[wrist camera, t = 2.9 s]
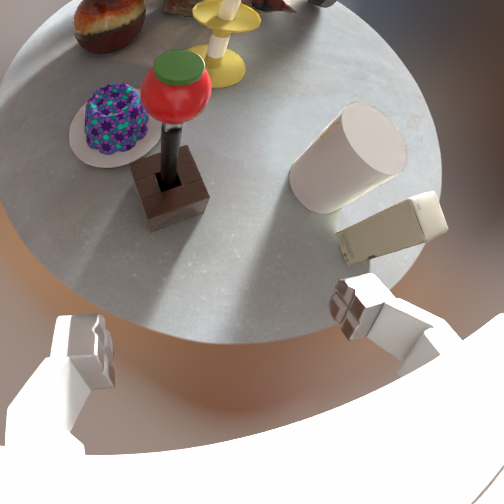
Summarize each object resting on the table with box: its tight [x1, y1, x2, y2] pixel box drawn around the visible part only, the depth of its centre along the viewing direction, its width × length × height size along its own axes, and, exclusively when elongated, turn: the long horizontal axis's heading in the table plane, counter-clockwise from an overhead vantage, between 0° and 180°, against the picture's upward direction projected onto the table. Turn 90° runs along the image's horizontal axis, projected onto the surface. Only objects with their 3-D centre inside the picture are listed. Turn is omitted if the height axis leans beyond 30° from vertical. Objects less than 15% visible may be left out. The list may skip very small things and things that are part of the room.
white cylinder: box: [289, 102, 407, 214], centre depth 29 cm, size 8×8×12 cm
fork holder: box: [129, 145, 210, 233], centre depth 27 cm, size 6×6×4 cm
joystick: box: [140, 50, 212, 192], centre depth 20 cm, size 4×4×19 cm
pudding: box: [69, 83, 162, 168], centre depth 26 cm, size 12×12×5 cm
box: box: [335, 191, 448, 265], centre depth 29 cm, size 5×4×13 cm
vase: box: [73, 0, 146, 53], centre depth 23 cm, size 11×11×15 cm
